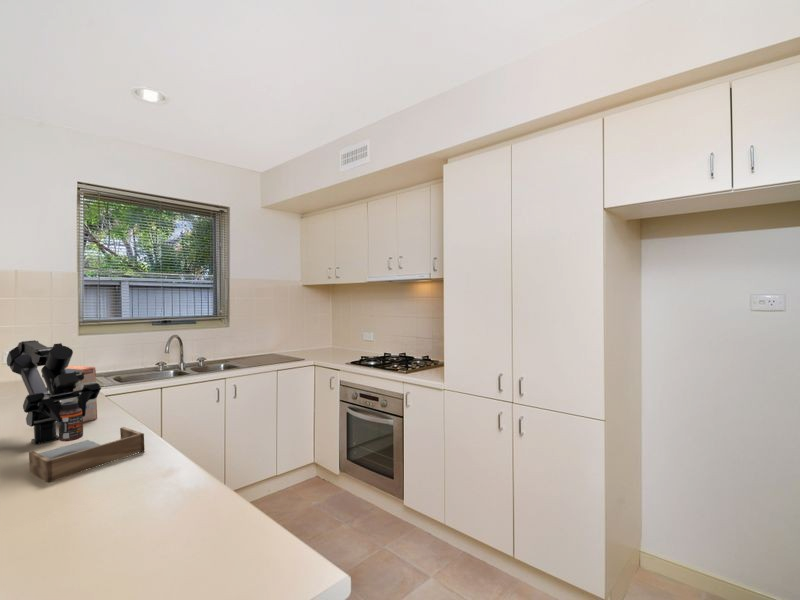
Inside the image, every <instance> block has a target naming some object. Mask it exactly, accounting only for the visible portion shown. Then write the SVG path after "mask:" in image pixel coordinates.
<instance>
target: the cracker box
mask: <svg viewBox="0 0 800 600" xmlns="http://www.w3.org/2000/svg"><path fill="white" fill-rule="evenodd" d="M77 370H82V372H83V374H84V379H83V380H82V381H78V382H77V383H76V388H75V389H73V390H74V391H78V390H82V389H83V387H84V385H87V384H93V383H97V375H96V374H97V372H96V370H97V369H96V367H95V366H87V365H86V366H85V365H84V366H83V365H68V367H67V368H65V371H66V373H73V372H75V371H77ZM97 398H98V397H97ZM97 398H95V399H92V400H88V402H86V414H85V416H84V417H83V423H86V422H91V421H94V420H95V421H96V420H97V419H98V401H97ZM72 401H77V402H78V398H77V397H75V398H70V399H65V400H60V402H62V404H63V403H66V402H72Z"/></svg>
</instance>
